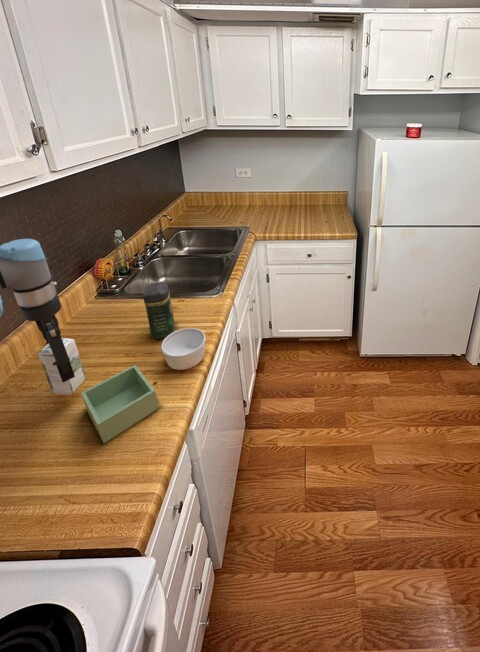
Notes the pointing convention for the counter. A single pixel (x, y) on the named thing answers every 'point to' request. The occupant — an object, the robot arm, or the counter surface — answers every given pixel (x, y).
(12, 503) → the counter surface
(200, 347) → the ramekin
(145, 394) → the bin
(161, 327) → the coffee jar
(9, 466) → the counter surface
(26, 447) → the counter surface
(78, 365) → the syrup box
